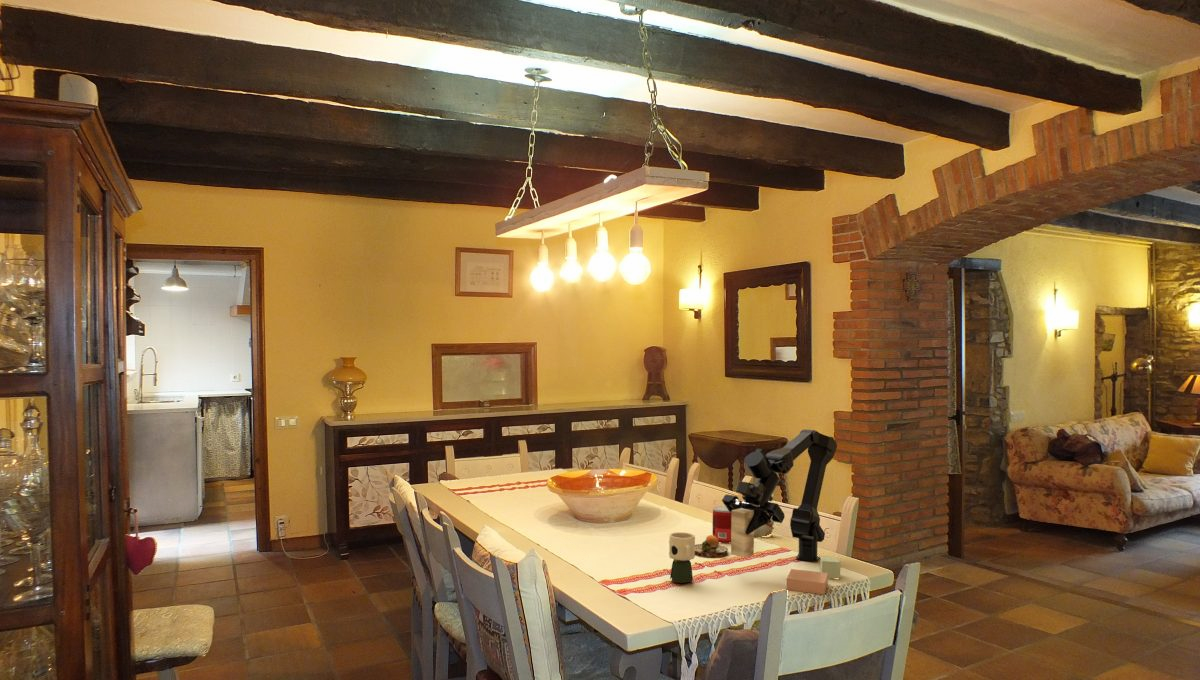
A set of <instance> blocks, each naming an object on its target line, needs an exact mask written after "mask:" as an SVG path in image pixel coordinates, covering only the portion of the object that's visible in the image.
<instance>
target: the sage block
mask: <svg viewBox="0 0 1200 680" xmlns="http://www.w3.org/2000/svg"><path fill="white" fill-rule="evenodd" d="M819 565H820V572H822V573H828V578H840V579H841V561H840V558H839V557H835V556H832V557H831V556H820V564H819Z"/></svg>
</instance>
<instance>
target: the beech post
mask: <svg viewBox="0 0 1200 680" xmlns="http://www.w3.org/2000/svg"><path fill="white" fill-rule="evenodd" d="M753 516H754V511H753V510H748V509H743V508H740V509H735V510H732V515H731V543H730V545H731V546H730V555H732V556H736V557H741V558H747V557H751V556H754V555H755V550H754V549H755V537H754V531H753V532H751V533H750V534H748V535H747V534H746V529H747V527H748V525H749V523H750V521H751V519H752V518H753Z"/></svg>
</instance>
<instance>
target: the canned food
mask: <svg viewBox="0 0 1200 680" xmlns="http://www.w3.org/2000/svg"><path fill="white" fill-rule="evenodd" d="M731 515H732V513H731V512H730V511H729V510H728V509H727V507H726V506H725V505H724V506H723V505H718V506H713V507H712V536H715V537H716V538H717V539H718V541H719V542H721V543H720V544H730V543H729V542H731ZM715 534H716V535H715Z"/></svg>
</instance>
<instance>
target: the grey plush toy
mask: <svg viewBox="0 0 1200 680" xmlns="http://www.w3.org/2000/svg"><path fill="white" fill-rule="evenodd" d="M770 520H771V523H767V524H765V525H763V526H761V527H759V528H758V529H756V530H755V531H754V538H756V537H762V536H767V535H769V534H772V532H773V530H774V529H775V528H774V527H773V526H774V524H775V522H774V521H773V520H772V517H771V519H770Z"/></svg>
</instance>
